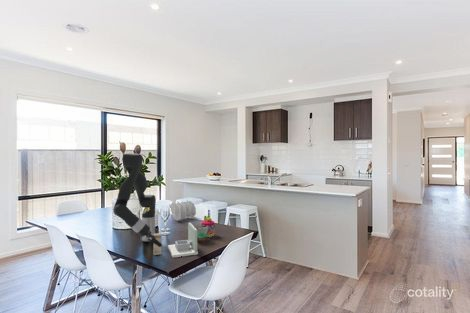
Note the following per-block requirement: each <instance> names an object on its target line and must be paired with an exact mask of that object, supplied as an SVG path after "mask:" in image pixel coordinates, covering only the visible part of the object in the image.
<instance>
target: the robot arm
mask: <svg viewBox="0 0 470 313" xmlns="http://www.w3.org/2000/svg"><path fill="white" fill-rule="evenodd" d="M143 161H144V159H143V155H142V154H140V153H135V152H134V153H133V152H125V153H124V154H123V156H122V163H123V166H124V169H125V170H126V171H127V173H128V176H127V177H126V179H124V181H123V182H122V183H121V185H120V187H119V189H118V190H119V191H118V194H117V198H116V201H115V204H114V206H113V210H112V211H113V214H114V215H115V216H117V217H119V218H120V219H122V221H123V222H125V224H126V225H127V226H129V228H130V229H132V231H134V232H135V233H136V234H137V235H138V236H140V237H141V241H142V242H151V243H152V244H153V243H154V244H156V245H157V246H159V247H161V248H162V246H163V244H162V242H161V243H160V242H159V241H158V240H157V239H156V237H155V236H154V234H156V203H157V202H156V200H157V198H156V195H154V194H145V192H146V190H147V188H148V186H149V184H148V180H147V177H146V175H145V174H144V173H142V172H141V168H142V166H143ZM133 188H134V190H135V192H136V195H137V199H138V202H139V206H140V207H141V208H149V209H148V210H146V211H144V212H142V213H141V218H140V217H139V216H138V215H136V214H134V213H133V211H132V210H131V209H129V207H128V201H129V200H130V198H131V194H132V192H133ZM154 240H155V242H154Z"/></svg>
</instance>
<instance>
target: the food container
mask: <svg viewBox="0 0 470 313" xmlns="http://www.w3.org/2000/svg"><path fill="white" fill-rule="evenodd" d="M196 229H197V243H205V242H206V241H207V230H208V226H206V227H198V228H196Z"/></svg>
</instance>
